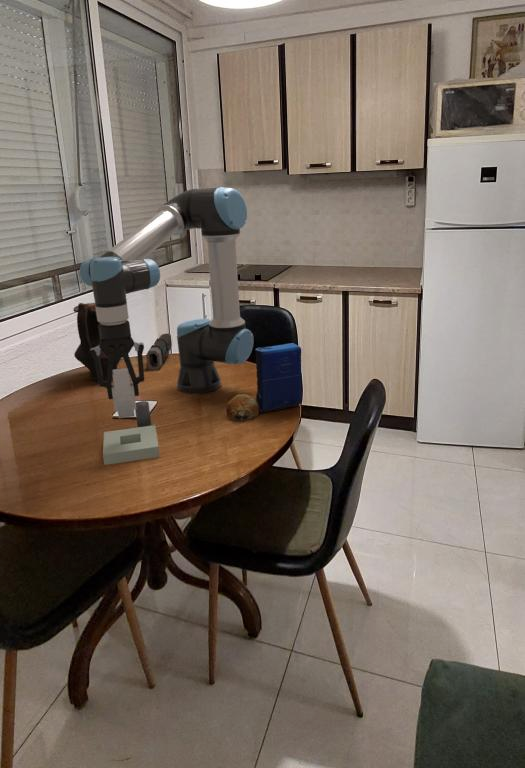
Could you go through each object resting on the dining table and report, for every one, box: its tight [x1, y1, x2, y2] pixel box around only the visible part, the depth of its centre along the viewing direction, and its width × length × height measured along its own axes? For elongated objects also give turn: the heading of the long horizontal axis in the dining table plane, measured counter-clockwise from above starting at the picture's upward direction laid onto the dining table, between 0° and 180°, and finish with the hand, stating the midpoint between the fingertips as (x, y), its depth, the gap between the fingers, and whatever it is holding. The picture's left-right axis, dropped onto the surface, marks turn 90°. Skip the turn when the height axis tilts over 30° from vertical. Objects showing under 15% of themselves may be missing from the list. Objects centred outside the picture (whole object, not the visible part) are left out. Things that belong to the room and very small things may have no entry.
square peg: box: [112, 367, 135, 419], centre depth 144 cm, size 4×4×12 cm
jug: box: [73, 302, 122, 382], centre depth 201 cm, size 21×18×30 cm
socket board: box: [102, 424, 161, 466], centre depth 149 cm, size 14×14×3 cm
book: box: [254, 342, 302, 413], centre depth 168 cm, size 14×5×20 cm, turn 113°
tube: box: [145, 333, 173, 372], centre depth 224 cm, size 11×7×30 cm
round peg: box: [134, 400, 152, 428], centre depth 160 cm, size 4×4×8 cm
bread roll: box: [226, 393, 260, 422], centre depth 167 cm, size 10×10×8 cm
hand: (125, 408), depth 145 cm, fingers closed on square peg, 4 cm apart
